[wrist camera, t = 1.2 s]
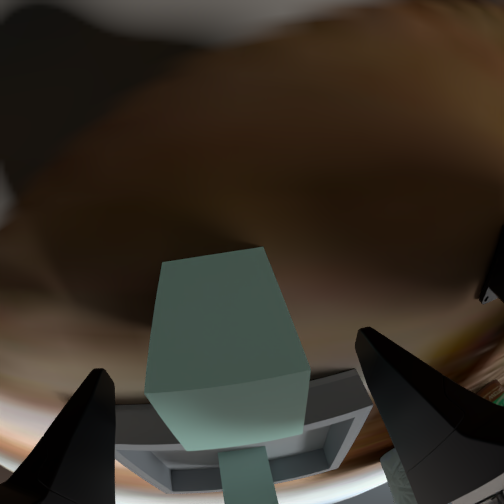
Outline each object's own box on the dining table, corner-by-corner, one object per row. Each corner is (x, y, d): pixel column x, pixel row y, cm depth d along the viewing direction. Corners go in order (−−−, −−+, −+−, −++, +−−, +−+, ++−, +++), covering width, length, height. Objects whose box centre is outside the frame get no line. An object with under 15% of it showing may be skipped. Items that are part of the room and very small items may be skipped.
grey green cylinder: (414, 433, 31) (444, 495, 20) (438, 429, 35) (464, 480, 24) (364, 465, 34) (386, 523, 24) (394, 459, 38) (415, 508, 28)
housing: (355, 368, 17) (394, 451, 12) (329, 444, 24) (347, 496, 19) (100, 404, 16) (90, 491, 10) (165, 468, 23) (168, 522, 17)
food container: (512, 362, 29) (541, 403, 21) (499, 381, 33) (525, 420, 24) (460, 401, 29) (489, 450, 21) (449, 417, 33) (474, 462, 24)
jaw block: (263, 246, 12) (310, 369, 6) (268, 320, 14) (302, 433, 8) (162, 261, 11) (144, 393, 6) (184, 333, 13) (186, 451, 8)
